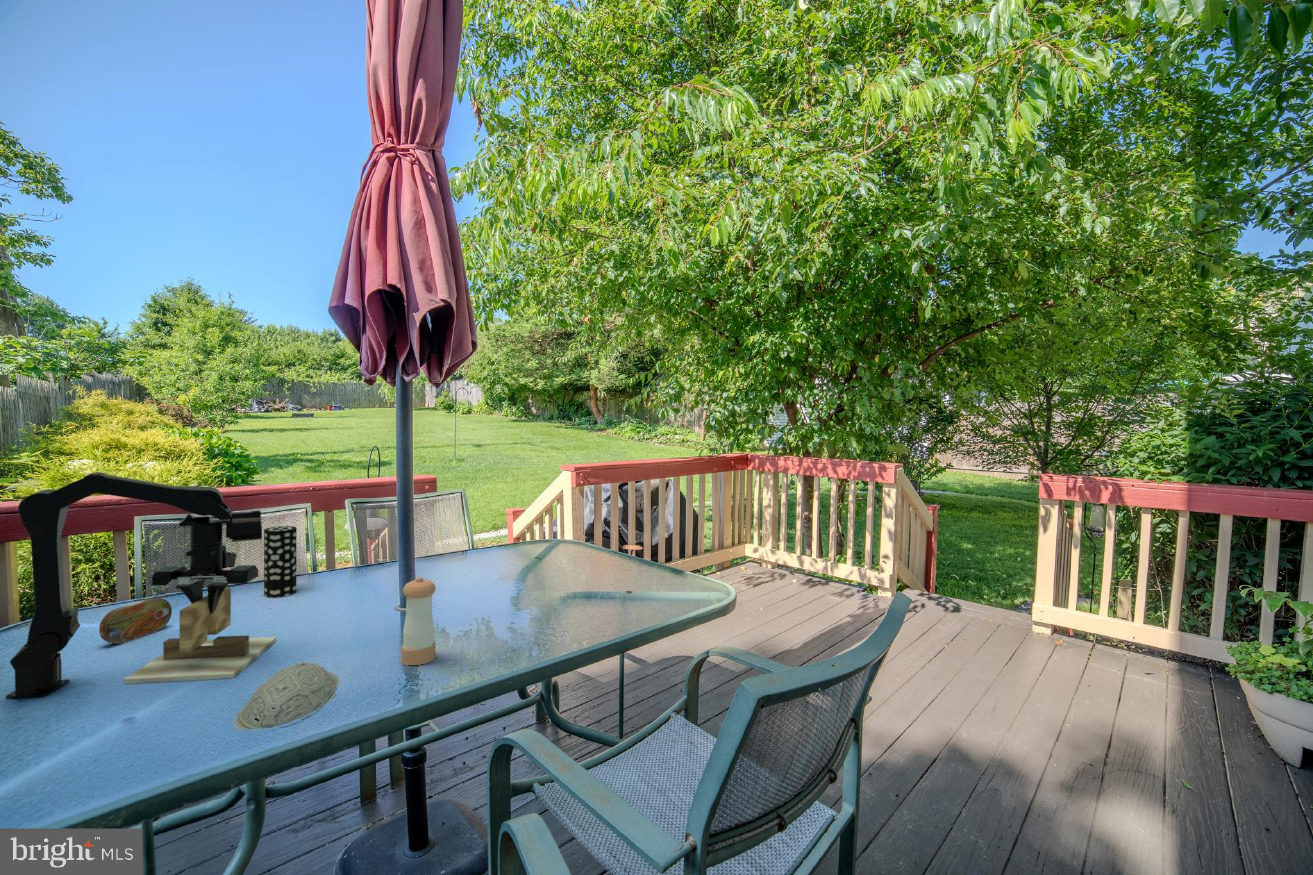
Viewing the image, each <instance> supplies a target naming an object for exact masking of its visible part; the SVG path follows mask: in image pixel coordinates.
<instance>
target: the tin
mask: <svg viewBox="0 0 1313 875" xmlns="http://www.w3.org/2000/svg"><path fill="white" fill-rule="evenodd" d="M172 610H173V609H172V606H171V603H170V602H169V601H168V600H166V599H165V598H162V597H159V598H158V597H156V598H148V599H144V600H141V601H138V602H133V603H130V604H127V605H124V606H121V607H117V608H115V609H112V610H111V611H109V612H108V613H106V614H105V615H104V616H103V618H102V619H101V620H100V624H99V631H98V632H99V635H100V638H101V639H102V640H103V641H104V642H107V643H111V644H116V645H117V644H118V645H119V644H120V645H123V644H125V642H126V643H128V641H129V642H131V641H130V640H132V641H134V639H135V638H137V639H140V638H141V637H140V636H143V637H145V636H144V635H146V636H148V635H147V634H149V633H151V634H153V632H154V631H157V632H159V631H160V630H159V629H161V630H162V629H164V628H165V627H166V626H167V624H168V623H169V621H170V619H171V617H172V614H173V612H172ZM158 630H159V631H158ZM154 633H155V632H154ZM149 635H150V634H149ZM139 637H140V638H139ZM135 640H136V639H135Z"/></svg>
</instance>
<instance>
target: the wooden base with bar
mask: <svg viewBox="0 0 1313 875" xmlns="http://www.w3.org/2000/svg"><path fill="white" fill-rule="evenodd" d="M276 642H277V636H269V637H265V636H264V637H250V635H227V636H224V635H223V636H217V637H216V638H214V639H207V641H206V642H205V643H203V644H202V645H200V646H199V647H197V648H196V649H194V650H193V651H191V652H182V653H180V637H175V638H174V637H173V638H168V639H166V640H165V641H163V642H162V644H163V647H162V648H163V652H162V653H163V654H160V656H158V657H156V658H155V659H153V660H152V661H150V662H148V663H147V664H146V665H143V666H142V667H141V668H139V669H137V670H136V671H135V672H133V673H131V674H130V675H128V676H126V677H125V678H123V684H124V685H125V684H126V685H127V684H128V685H129V684H147V683H148V684H149V683H166V682H168V683H169V682H186V681H202V680H203V681H206V680H223V679H227V680H228V679H234V678H235V677H236V676H238V675H239V674H240V673H241V672H243V670H245V669H246V668H247V667H248V666H249V665H250V664H251V663H253V662H254V661H255V660H257V658H259V657H260V656H261V655H262V654H263V653H265V652H266V651H267V650H268V649H269V648H270V647H271V646H272V645H273V644H275V643H276Z"/></svg>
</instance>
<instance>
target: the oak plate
mask: <svg viewBox="0 0 1313 875" xmlns="http://www.w3.org/2000/svg"><path fill="white" fill-rule="evenodd" d="M231 598H232V587H225V589H224V591H223V593H222V595H221V597H220V599H219V602H218V604H217V607H216V609H215V611H214V612H213V613H210V611H209V604H208V594H207V595H205V596H203V598H202V599H200V600H198V601H196V602H194V603H193V604H192V603H191V604H189V605H187V606H186V607H183V608H182V609H180V610H179V638H180V653H182V652H191V651H193V650H194V649H196V648H197V647H199V646H200V645H202V644H203V643H205V642H206V641H207V640H208V636H216V635H218V634H220V633H221V632H222V631H223V630H225V629H227V628H228V627H230V626H231V625H232V624H231V623H232V622H231V620H232V599H231Z"/></svg>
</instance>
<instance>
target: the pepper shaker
mask: <svg viewBox="0 0 1313 875" xmlns="http://www.w3.org/2000/svg"><path fill="white" fill-rule="evenodd" d="M436 589H437V588H436V585H435V583H434V582H433V581H432V580H429V579H424V578H423V577H419V576H418V577H417V578H416V579H414V580H411V581H409V582H407V583H406V584H405V585H404V586H403V589H402V593H403V595H404V597H406V601H405V602H406V604H405V605H406V606H405V612H406V613H405V620H404V624H403V625H404V626H403V630H402V634H403V635H402V639H403V643H402V646H401V660H400V661H401V663H402V664H403V665H404V666H408V665H419V666H422V665H421V664H424V663H427V664H429V663H428V662H429V661H432V660H433V661H435V659H436V645H437V644H436V642H435V624H434V619H433V595H434V593H435V592H436ZM434 658H435V659H434ZM433 661H432V662H433ZM424 665H425V664H424Z"/></svg>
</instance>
